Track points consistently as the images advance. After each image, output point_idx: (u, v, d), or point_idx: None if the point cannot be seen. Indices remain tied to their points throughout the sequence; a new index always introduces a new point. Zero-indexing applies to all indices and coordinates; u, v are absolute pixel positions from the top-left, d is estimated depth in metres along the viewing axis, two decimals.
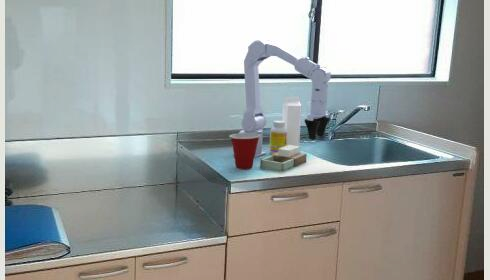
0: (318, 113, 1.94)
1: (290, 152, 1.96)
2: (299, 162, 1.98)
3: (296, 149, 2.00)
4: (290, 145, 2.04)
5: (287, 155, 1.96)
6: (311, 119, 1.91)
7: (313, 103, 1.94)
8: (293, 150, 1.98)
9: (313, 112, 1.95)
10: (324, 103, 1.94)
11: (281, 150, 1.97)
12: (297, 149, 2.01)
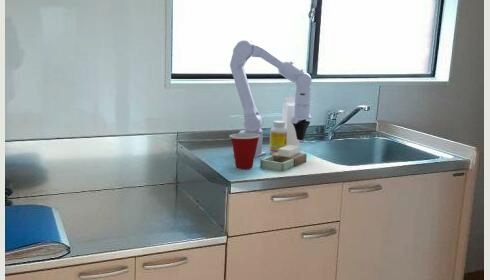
0: (301, 116, 2.03)
1: (290, 152, 1.96)
2: (299, 162, 1.98)
3: (296, 149, 2.00)
4: (290, 145, 2.04)
5: (287, 155, 1.96)
6: (294, 122, 2.00)
7: (296, 107, 2.04)
8: (293, 150, 1.98)
9: (297, 115, 2.04)
10: (307, 106, 2.03)
11: (281, 150, 1.97)
12: (297, 149, 2.01)
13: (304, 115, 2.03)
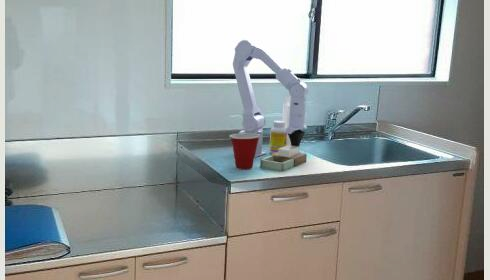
0: (296, 126, 2.00)
1: (290, 153, 1.96)
2: (299, 162, 1.98)
3: (296, 149, 2.00)
4: (290, 145, 2.04)
5: (287, 155, 1.96)
6: (289, 132, 1.97)
7: (291, 116, 2.01)
8: (293, 150, 1.98)
9: (291, 125, 2.01)
10: (302, 116, 2.00)
11: (281, 150, 1.97)
12: (297, 149, 2.01)
13: (299, 125, 2.00)
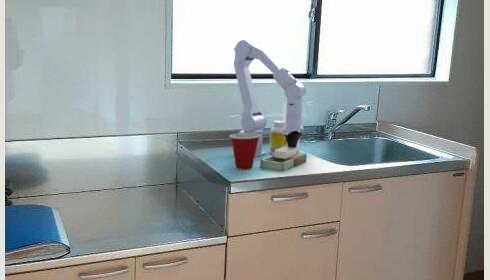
0: (293, 127, 1.98)
1: (286, 154, 1.93)
2: (299, 162, 1.98)
3: (292, 151, 1.98)
4: (286, 146, 2.01)
5: (283, 157, 1.93)
6: (286, 133, 1.94)
7: (288, 117, 1.98)
8: (289, 151, 1.95)
9: (288, 126, 1.99)
10: (299, 117, 1.98)
11: (277, 151, 1.94)
12: (293, 151, 1.98)
13: (296, 126, 1.98)
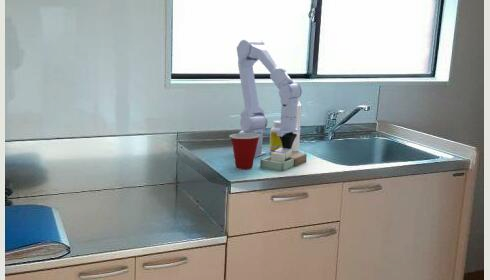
0: (288, 129, 1.94)
1: None
2: (299, 162, 1.98)
3: (287, 153, 1.94)
4: (281, 148, 1.97)
5: None
6: (280, 135, 1.91)
7: (283, 119, 1.94)
8: (282, 157, 1.91)
9: (283, 128, 1.95)
10: (294, 118, 1.94)
11: None
12: (288, 152, 1.95)
13: (291, 127, 1.94)
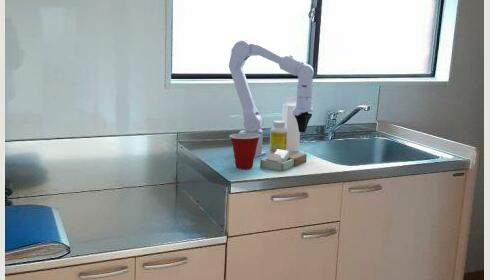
0: (303, 108, 2.02)
1: None
2: (299, 162, 1.98)
3: (285, 157, 1.92)
4: (278, 150, 1.95)
5: None
6: (296, 114, 1.99)
7: (298, 99, 2.02)
8: (279, 161, 1.89)
9: (298, 107, 2.03)
10: (309, 98, 2.02)
11: None
12: (286, 156, 1.93)
13: (306, 107, 2.02)
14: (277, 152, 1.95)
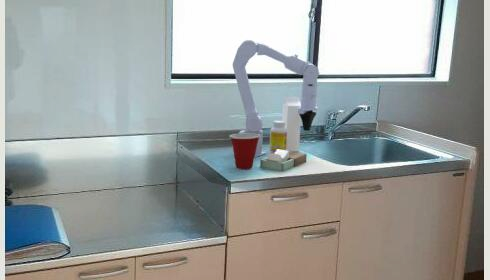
0: (308, 107, 2.05)
1: None
2: (299, 162, 1.98)
3: (285, 157, 1.92)
4: (278, 150, 1.95)
5: None
6: (301, 112, 2.02)
7: (303, 97, 2.05)
8: (279, 161, 1.89)
9: (303, 106, 2.06)
10: (314, 97, 2.05)
11: None
12: (286, 156, 1.93)
13: (311, 106, 2.05)
14: (277, 152, 1.95)
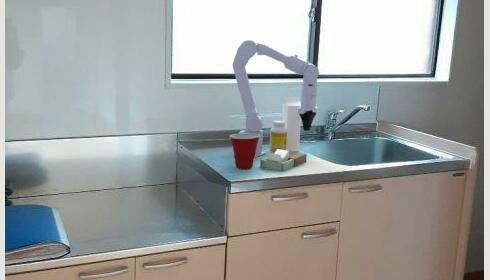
0: (308, 107, 2.05)
1: None
2: (299, 162, 1.98)
3: (285, 157, 1.92)
4: (278, 150, 1.95)
5: None
6: (301, 112, 2.02)
7: (303, 97, 2.05)
8: (279, 161, 1.89)
9: (303, 106, 2.06)
10: (314, 97, 2.05)
11: None
12: (286, 156, 1.93)
13: (311, 106, 2.05)
14: (277, 152, 1.95)
